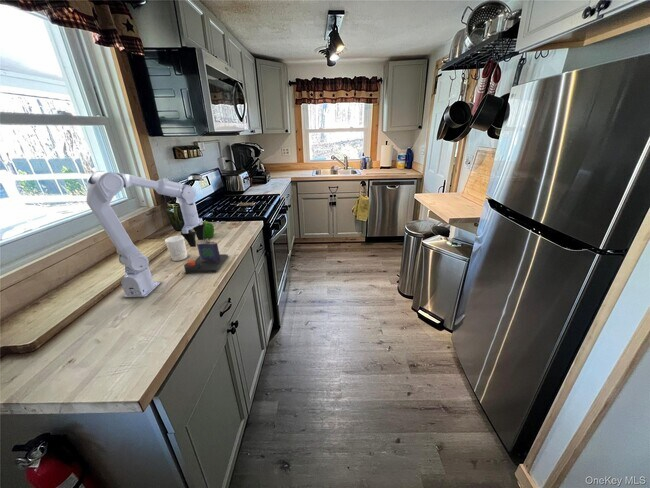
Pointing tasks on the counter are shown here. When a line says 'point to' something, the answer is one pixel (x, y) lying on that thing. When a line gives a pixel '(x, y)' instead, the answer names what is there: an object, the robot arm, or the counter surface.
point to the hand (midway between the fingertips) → (197, 243)
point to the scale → (205, 265)
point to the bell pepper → (208, 230)
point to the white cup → (176, 247)
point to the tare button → (191, 262)
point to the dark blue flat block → (208, 251)
